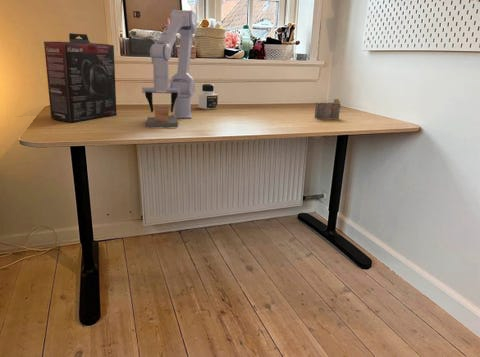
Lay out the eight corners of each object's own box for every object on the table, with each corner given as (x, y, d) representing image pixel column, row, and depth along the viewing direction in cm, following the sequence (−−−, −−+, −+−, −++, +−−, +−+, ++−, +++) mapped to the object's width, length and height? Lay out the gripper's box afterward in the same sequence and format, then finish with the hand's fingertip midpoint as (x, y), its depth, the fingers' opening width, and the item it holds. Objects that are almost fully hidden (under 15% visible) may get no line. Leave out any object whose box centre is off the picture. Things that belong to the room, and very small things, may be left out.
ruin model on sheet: (335, 118, 187) (338, 98, 184) (338, 119, 184) (341, 99, 181) (313, 118, 184) (316, 98, 181) (316, 119, 182) (318, 99, 178)
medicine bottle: (206, 109, 194) (207, 85, 190) (198, 107, 198) (198, 83, 194) (217, 108, 198) (218, 84, 194) (209, 106, 203) (209, 83, 199)
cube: (156, 118, 155) (155, 106, 154) (168, 118, 156) (168, 106, 154) (155, 121, 151) (154, 108, 149) (168, 121, 151) (167, 108, 150)
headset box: (98, 112, 175) (92, 34, 164) (119, 115, 169) (114, 35, 158) (50, 119, 154) (39, 31, 143) (72, 123, 149) (62, 32, 138)
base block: (148, 123, 159) (147, 117, 158) (177, 123, 161) (177, 117, 160) (146, 129, 148) (145, 122, 147) (177, 129, 150) (177, 123, 149)
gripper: (140, 76, 143) (142, 113, 148) (180, 78, 145) (180, 113, 150) (142, 75, 150) (144, 110, 154) (180, 76, 152) (180, 110, 156)
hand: (162, 111), depth 153 cm, fingers open, 7 cm apart
